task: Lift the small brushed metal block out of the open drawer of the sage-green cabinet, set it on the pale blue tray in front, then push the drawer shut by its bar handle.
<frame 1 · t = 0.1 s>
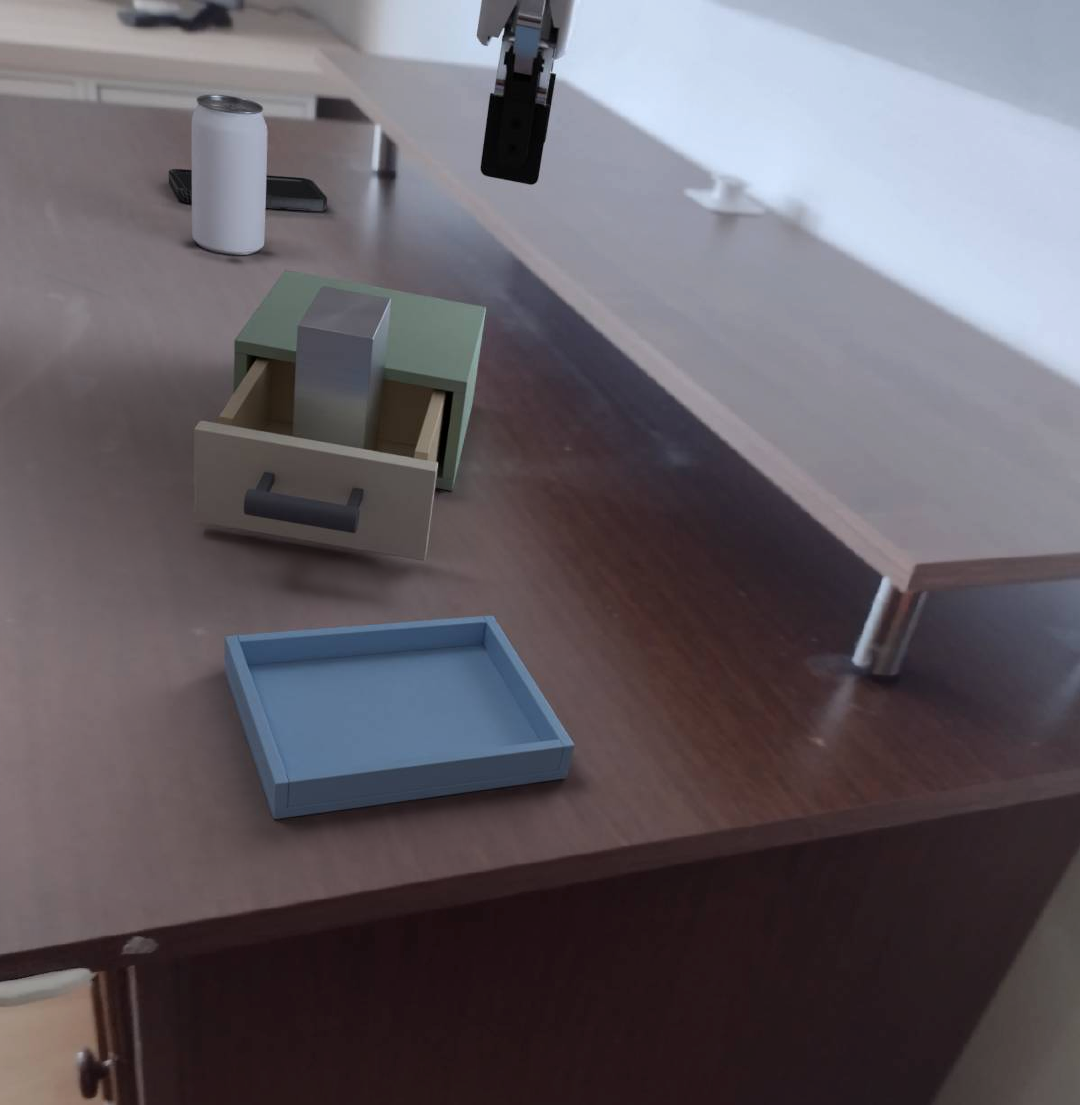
hand: (514, 159, 69), 20 cm above the worktop, tool pointing down, fingers open, 9 cm apart
tray: (392, 723, 59), on the worktop
can: (228, 246, 111), on the worktop
cabinet: (361, 427, 85), on the worktop
phone: (248, 197, 123), on the worktop
brushed metal block: (334, 468, 75), point 2 cm above the worktop, touching drawer
drawer: (328, 460, 71), point 4 cm above the worktop, slide at 10.0 cm, touching brushed metal block
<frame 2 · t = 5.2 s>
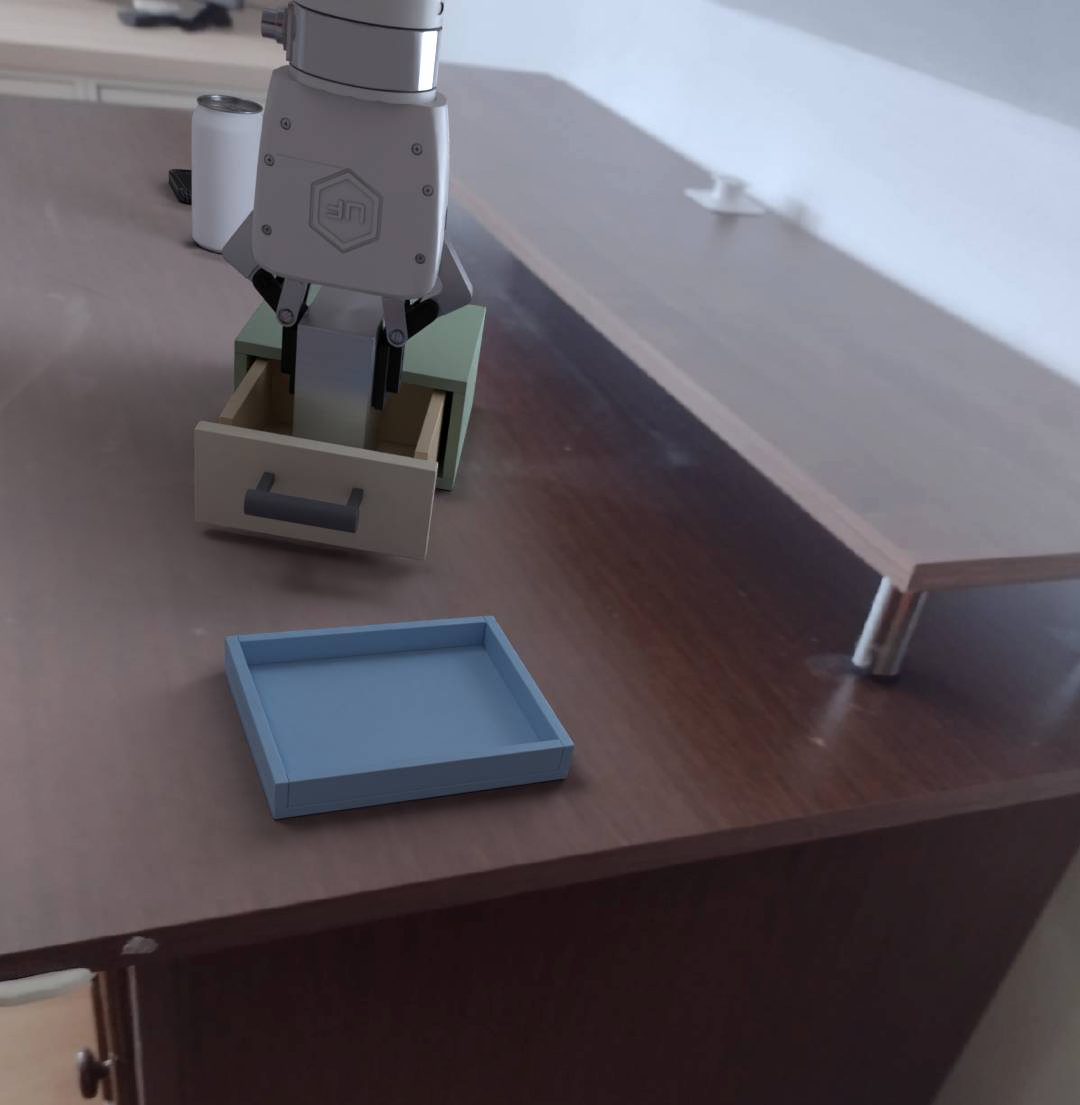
hand: (340, 390, 71), 7 cm above the worktop, tool pointing down, fingers closed on brushed metal block, 4 cm apart
brushed metal block: (334, 468, 75), point 2 cm above the worktop, touching drawer, gripper
everything else where it was.
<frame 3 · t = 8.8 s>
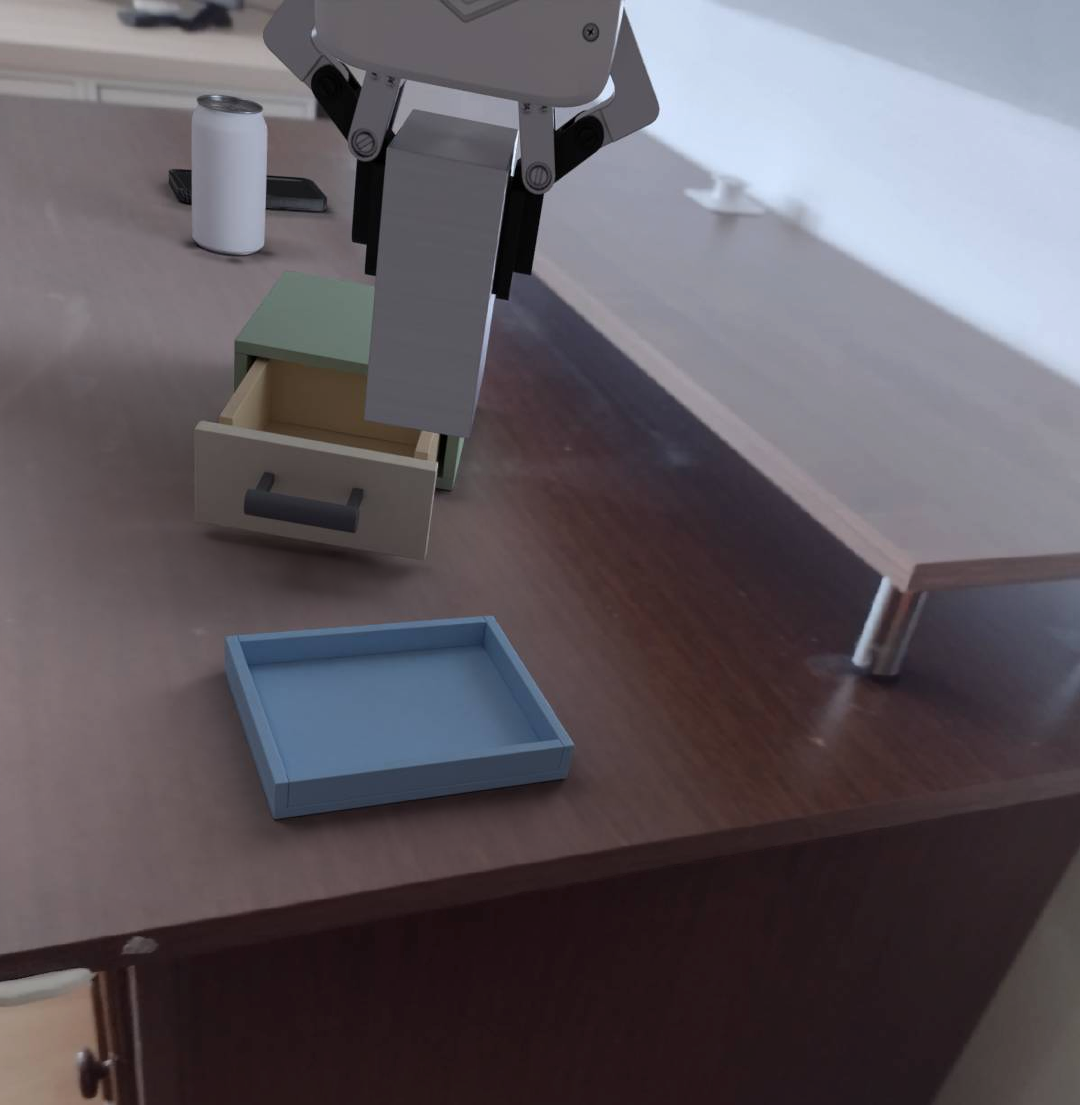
hand: (441, 272, 46), 22 cm above the worktop, tool pointing down, fingers closed on brushed metal block, 4 cm apart
brushed metal block: (426, 396, 50), point 17 cm above the worktop, touching gripper
drawer: (328, 460, 71), point 4 cm above the worktop, slide at 10.0 cm
everything else where it was.
when the fingers open (6 cm above the worktop, at t = 12.6 s): brushed metal block stays where it is, resting on tray.
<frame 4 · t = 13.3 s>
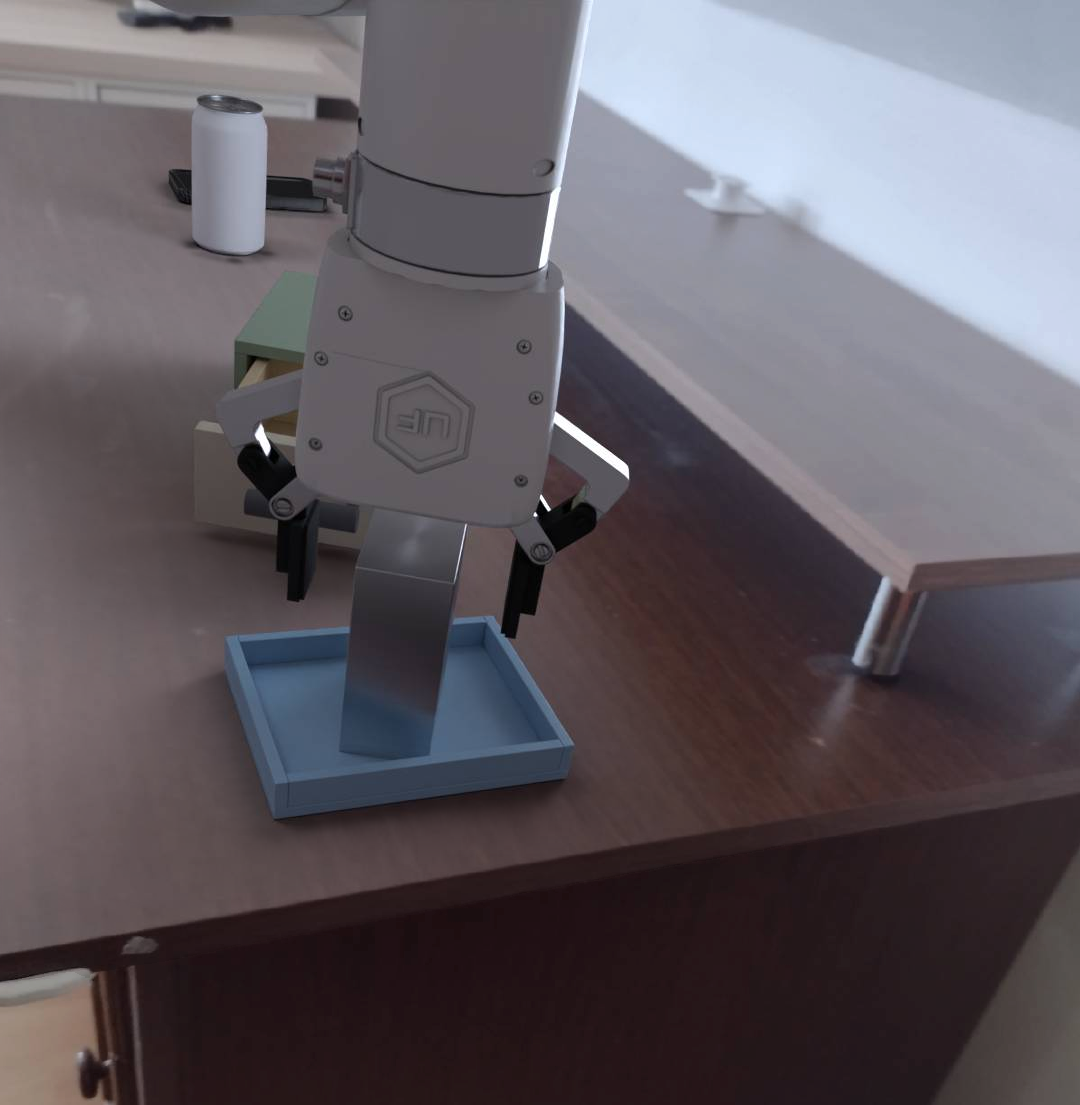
hand: (406, 604, 55), 7 cm above the worktop, tool pointing down, fingers open, 9 cm apart
brushed metal block: (394, 713, 58), point 1 cm above the worktop, touching tray
everything else where it was.
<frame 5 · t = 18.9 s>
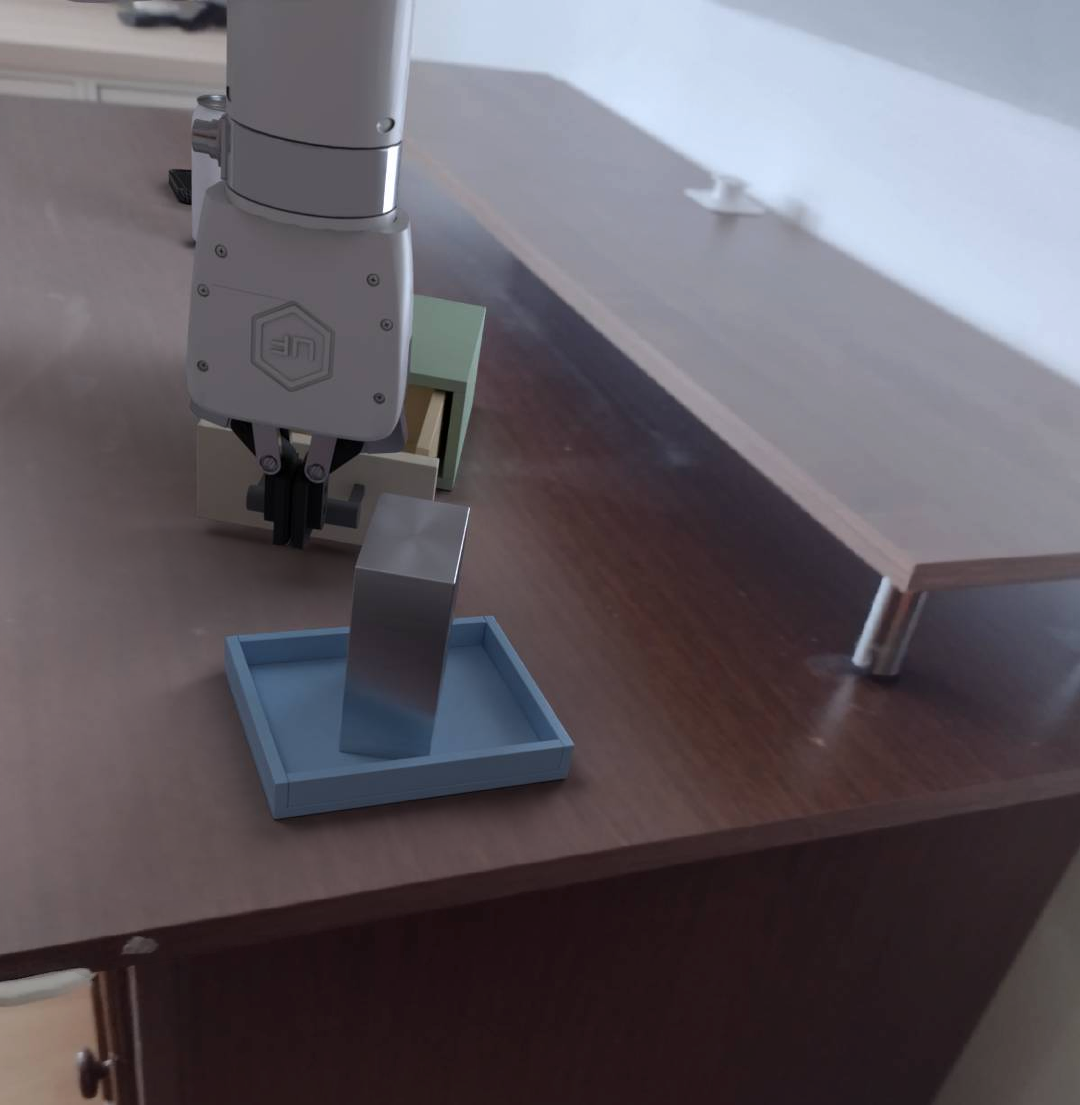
hand: (294, 534, 63), 4 cm above the worktop, tool pointing down, fingers closed
drawer: (330, 457, 72), point 4 cm above the worktop, slide at 9.5 cm, touching gripper
everything else where it was.
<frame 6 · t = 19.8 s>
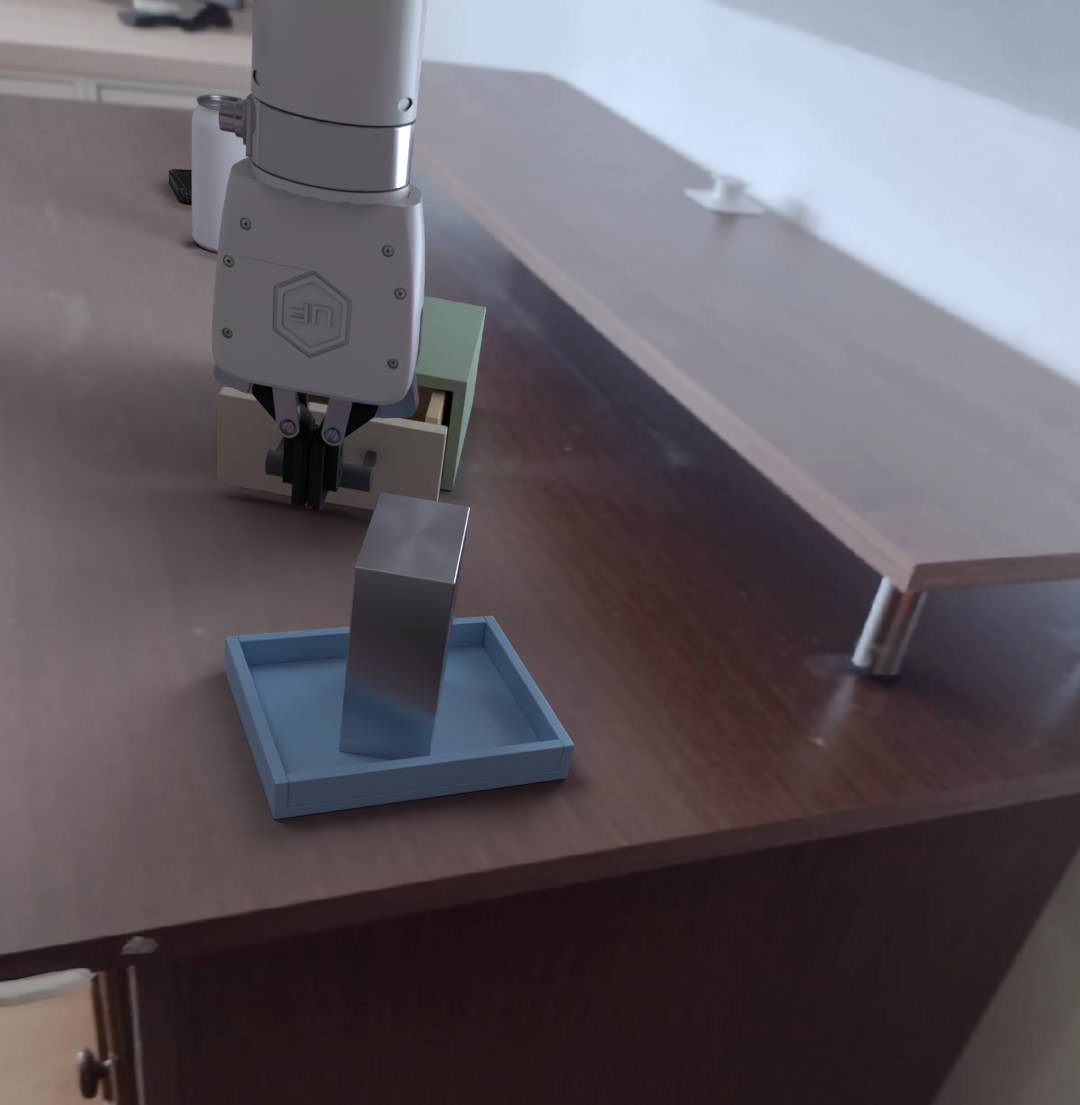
hand: (310, 496, 67), 4 cm above the worktop, tool pointing down, fingers closed
drawer: (343, 427, 75), point 4 cm above the worktop, slide at 5.0 cm, touching gripper
everything else where it was.
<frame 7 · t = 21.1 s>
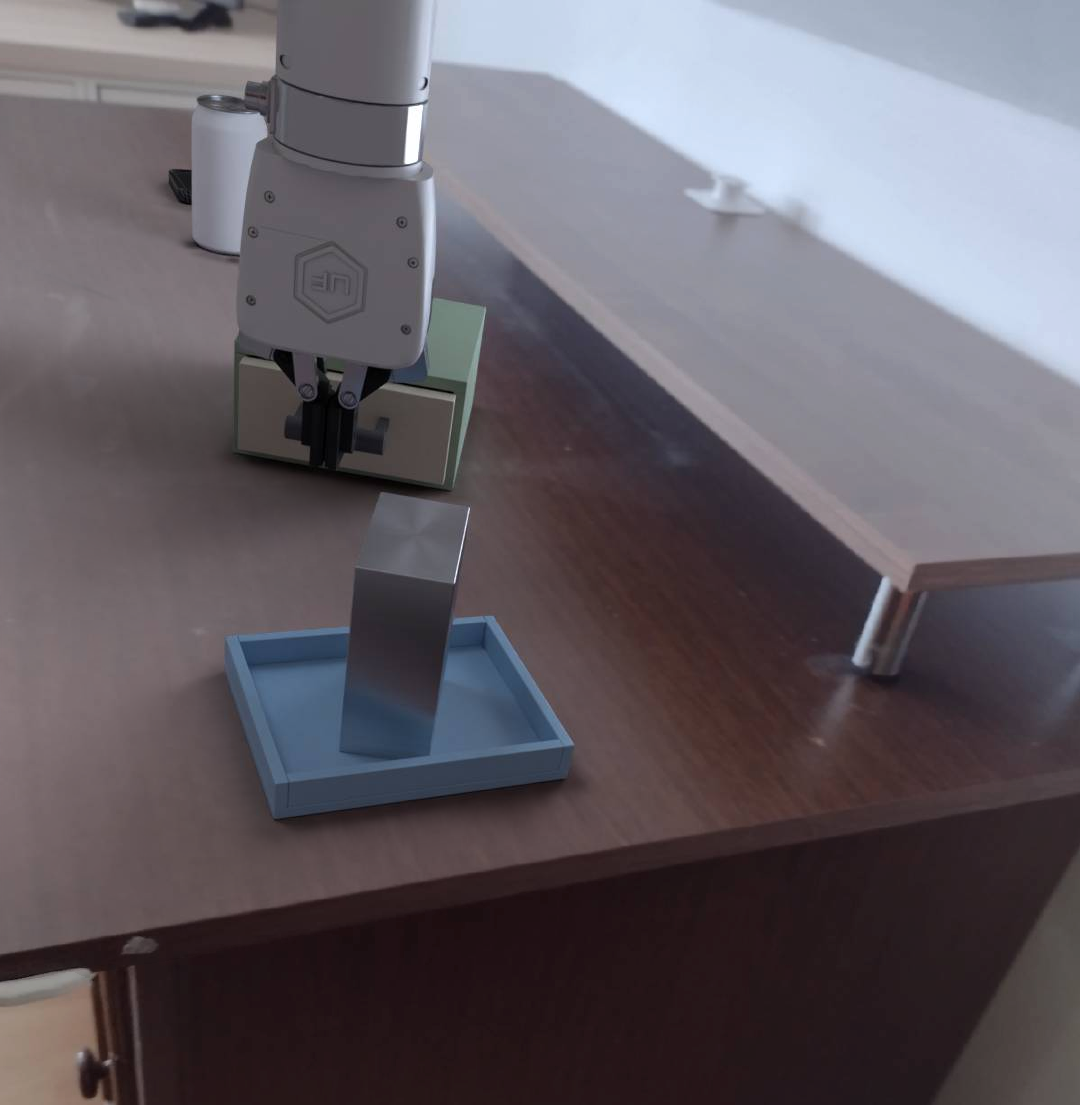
hand: (327, 458, 71), 4 cm above the worktop, tool pointing down, fingers closed
drawer: (356, 396, 79), point 4 cm above the worktop, slide at 0.0 cm, touching cabinet, gripper
everything else where it was.
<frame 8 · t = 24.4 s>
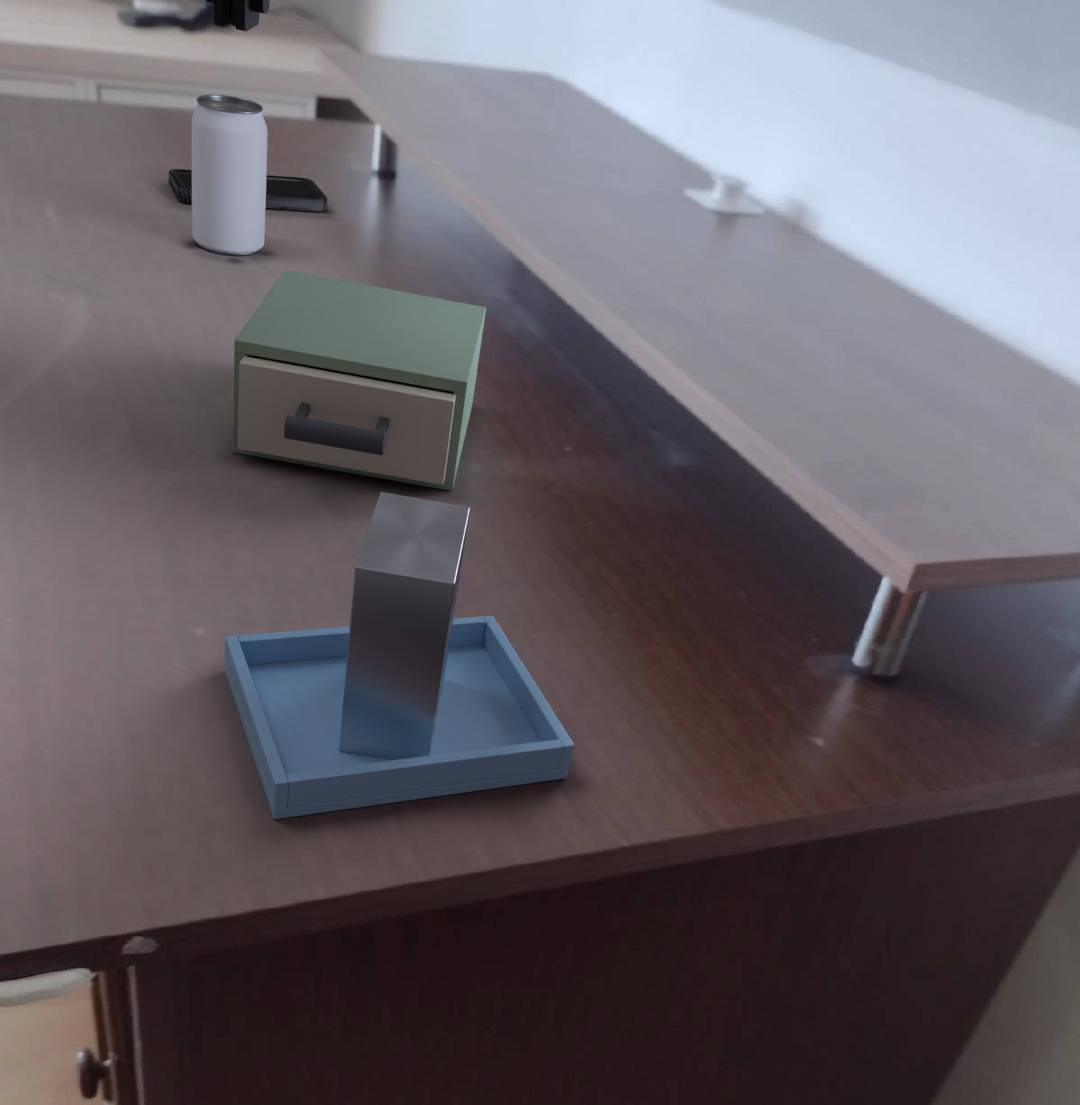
hand: (237, 24, 62), 25 cm above the worktop, tool pointing down, fingers closed
drawer: (356, 396, 79), point 4 cm above the worktop, slide at 0.0 cm, touching cabinet
everything else where it was.
at the end: brushed metal block inside the target area in the tray (0.0 cm from its centre), point 0.6 cm above the tray's base; brushed metal block tilted 0°; drawer slide at 0.0 cm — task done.
